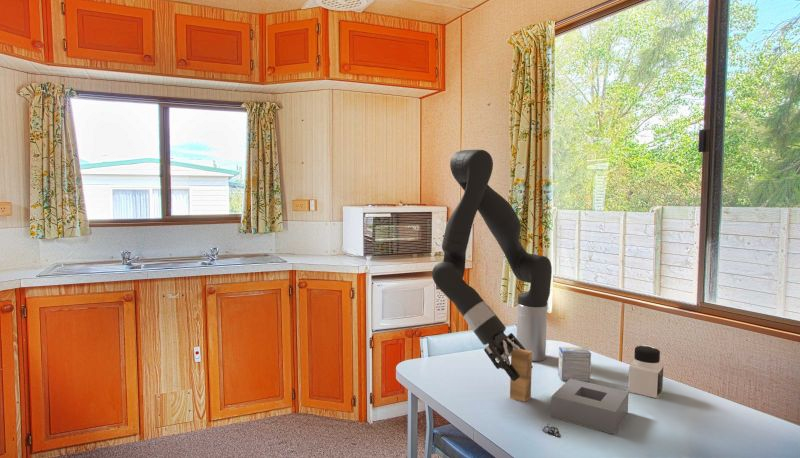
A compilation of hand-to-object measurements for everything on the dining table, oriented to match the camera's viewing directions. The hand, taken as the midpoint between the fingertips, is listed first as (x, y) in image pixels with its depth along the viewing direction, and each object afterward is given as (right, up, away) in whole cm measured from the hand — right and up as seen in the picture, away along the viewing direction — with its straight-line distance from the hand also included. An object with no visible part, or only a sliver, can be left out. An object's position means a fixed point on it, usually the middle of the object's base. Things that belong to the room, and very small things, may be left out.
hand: (523, 374), depth 124 cm
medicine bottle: (+34, -7, +6) cm, 35 cm away
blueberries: (+2, -8, -17) cm, 19 cm away
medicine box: (+18, -6, +15) cm, 24 cm away
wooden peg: (-1, -6, +1) cm, 6 cm away
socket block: (+14, -7, -8) cm, 17 cm away
